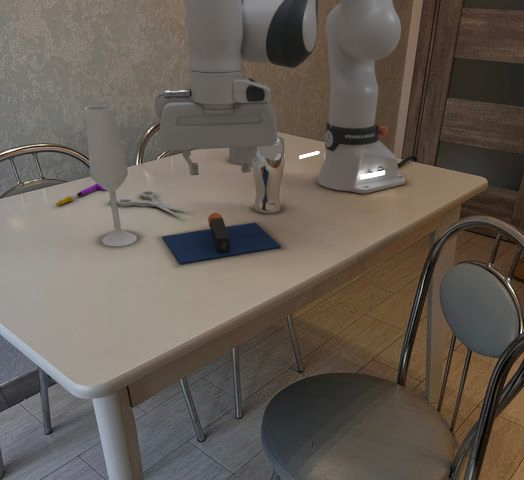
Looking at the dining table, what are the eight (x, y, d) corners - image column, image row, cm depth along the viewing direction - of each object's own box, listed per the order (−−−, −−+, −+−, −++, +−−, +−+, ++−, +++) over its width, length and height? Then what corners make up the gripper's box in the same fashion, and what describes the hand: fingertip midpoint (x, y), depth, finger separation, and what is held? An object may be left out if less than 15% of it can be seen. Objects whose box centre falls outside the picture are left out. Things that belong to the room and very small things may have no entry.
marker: (208, 227, 110) (207, 213, 108) (222, 226, 110) (222, 212, 108) (216, 255, 98) (215, 240, 97) (232, 254, 99) (231, 239, 97)
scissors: (143, 188, 128) (204, 206, 118) (143, 191, 128) (205, 209, 118) (108, 200, 121) (170, 220, 111) (108, 203, 121) (170, 223, 111)
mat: (255, 224, 112) (255, 222, 112) (280, 247, 102) (281, 245, 102) (162, 238, 106) (162, 236, 106) (180, 264, 96) (179, 262, 96)
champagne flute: (137, 244, 103) (118, 111, 89) (101, 247, 102) (77, 112, 88) (136, 231, 108) (119, 103, 95) (102, 233, 107) (80, 104, 93)
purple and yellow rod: (101, 185, 131) (54, 205, 120) (101, 180, 131) (54, 201, 119) (110, 189, 131) (64, 210, 119) (110, 184, 130) (64, 205, 118)
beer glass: (245, 207, 120) (245, 138, 112) (269, 201, 124) (270, 133, 115) (265, 216, 116) (266, 144, 107) (289, 209, 119) (291, 139, 111)
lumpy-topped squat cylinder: (224, 161, 150) (223, 129, 146) (247, 151, 160) (247, 120, 155) (256, 167, 146) (256, 133, 141) (278, 156, 156) (279, 124, 151)
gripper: (154, 93, 84) (162, 181, 92) (280, 90, 87) (278, 175, 95) (153, 87, 89) (161, 170, 97) (272, 84, 92) (271, 165, 100)
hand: (220, 173), depth 96 cm, fingers open, 8 cm apart
